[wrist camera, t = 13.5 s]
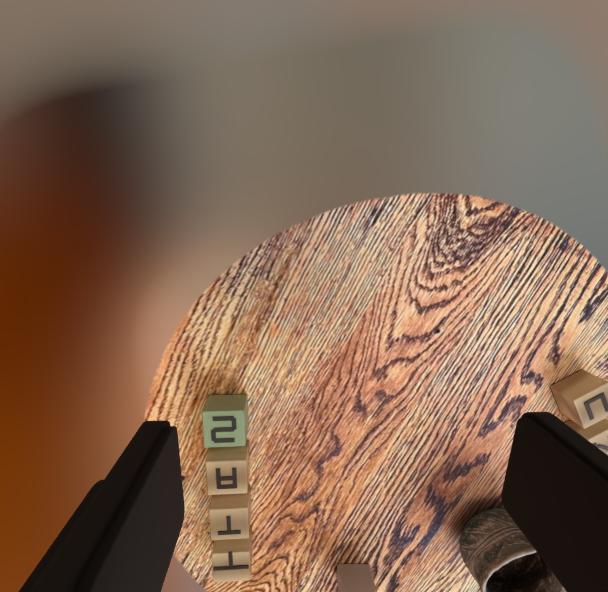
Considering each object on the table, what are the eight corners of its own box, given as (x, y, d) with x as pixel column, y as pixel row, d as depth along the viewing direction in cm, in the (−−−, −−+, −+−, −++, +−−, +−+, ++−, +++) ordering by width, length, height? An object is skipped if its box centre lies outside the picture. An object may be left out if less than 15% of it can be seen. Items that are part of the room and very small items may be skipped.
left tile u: (549, 386, 36) (574, 401, 32) (581, 368, 35) (609, 382, 32) (560, 412, 36) (585, 429, 33) (591, 396, 36) (620, 412, 33)
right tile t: (214, 486, 35) (208, 510, 32) (250, 484, 36) (247, 508, 33) (216, 515, 36) (210, 541, 33) (251, 513, 37) (248, 539, 34)
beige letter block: (217, 526, 37) (211, 553, 34) (251, 524, 37) (249, 551, 34) (218, 554, 38) (213, 583, 35) (252, 552, 38) (250, 581, 35)
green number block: (208, 394, 33) (201, 412, 30) (247, 393, 33) (244, 410, 30) (210, 428, 34) (203, 448, 31) (248, 427, 34) (245, 447, 31)
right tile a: (211, 441, 34) (205, 462, 31) (249, 440, 34) (245, 461, 31) (213, 472, 35) (207, 496, 32) (250, 471, 35) (247, 494, 32)
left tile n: (558, 425, 37) (583, 443, 34) (590, 409, 37) (617, 425, 34) (568, 450, 38) (593, 469, 35) (599, 434, 38) (627, 452, 35)
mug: (515, 481, 38) (595, 569, 29) (534, 553, 41) (613, 656, 32) (440, 509, 38) (494, 607, 29) (465, 580, 41) (522, 689, 32)
